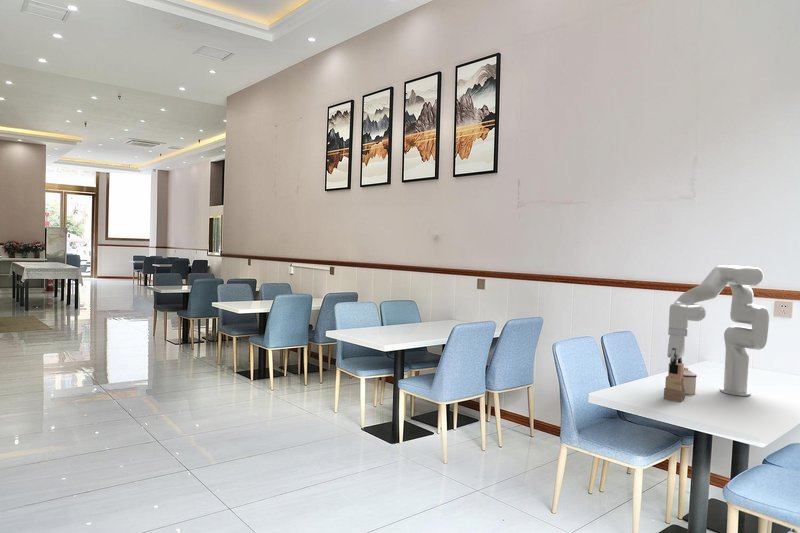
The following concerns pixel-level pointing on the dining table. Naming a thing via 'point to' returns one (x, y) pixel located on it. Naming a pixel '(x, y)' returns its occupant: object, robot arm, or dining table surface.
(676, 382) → the block
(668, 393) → the tower base
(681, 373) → the terracotta block
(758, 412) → the dining table surface
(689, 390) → the teacup with lid
